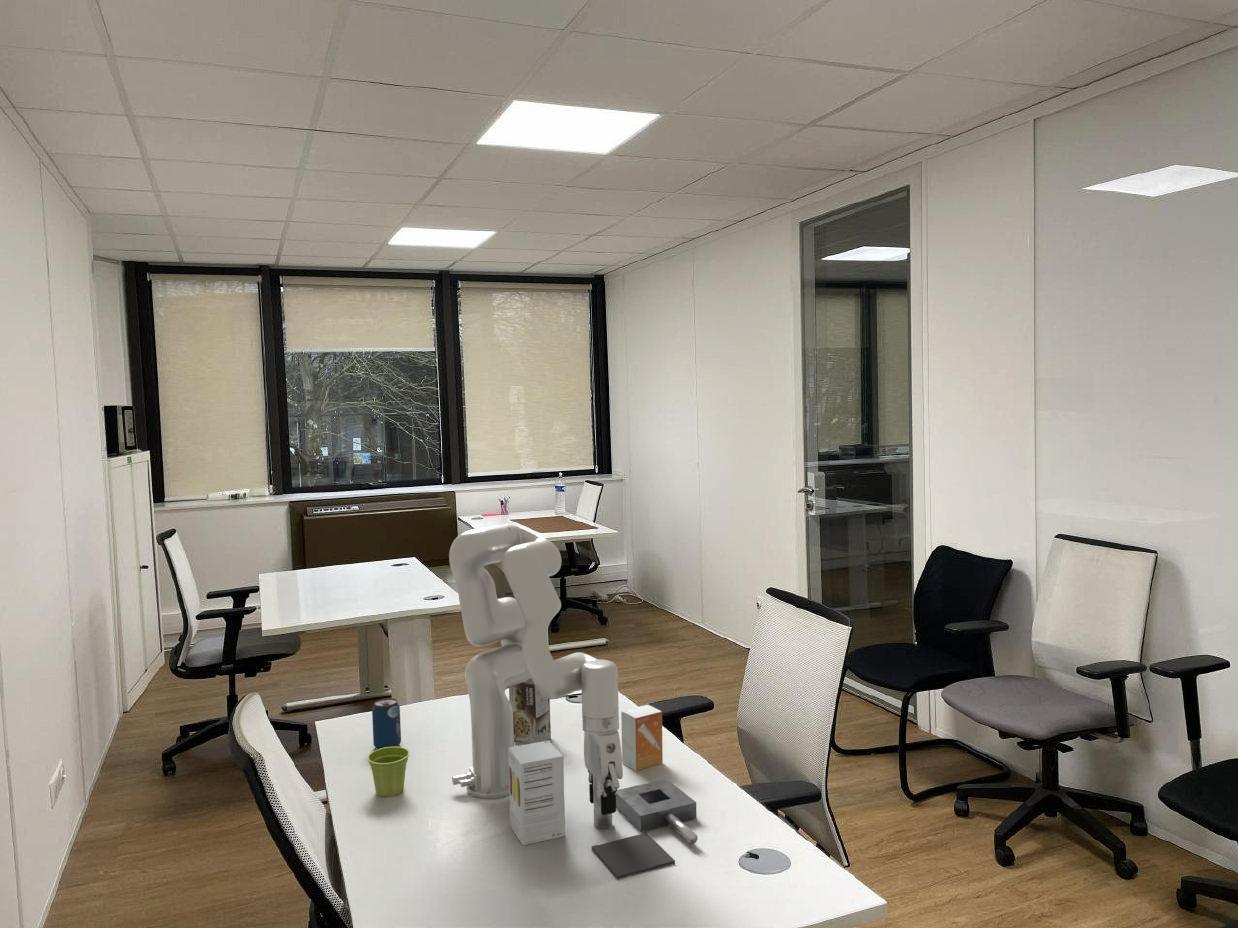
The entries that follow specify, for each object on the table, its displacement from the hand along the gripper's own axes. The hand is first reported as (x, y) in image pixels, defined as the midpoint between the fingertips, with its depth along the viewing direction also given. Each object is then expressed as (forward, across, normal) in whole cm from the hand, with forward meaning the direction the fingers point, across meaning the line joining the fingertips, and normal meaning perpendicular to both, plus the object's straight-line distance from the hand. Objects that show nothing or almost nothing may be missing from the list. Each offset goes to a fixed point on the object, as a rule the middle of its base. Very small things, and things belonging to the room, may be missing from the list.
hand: (602, 806), depth 176 cm
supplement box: (+4, +4, +13) cm, 14 cm away
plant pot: (+4, +37, +37) cm, 52 cm away
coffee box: (+4, +52, -2) cm, 52 cm away
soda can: (+4, +64, +33) cm, 72 cm away
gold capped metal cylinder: (+4, 0, 0) cm, 4 cm away
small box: (+4, +24, -21) cm, 32 cm away
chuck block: (+4, -5, -12) cm, 14 cm away
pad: (+4, -14, 0) cm, 15 cm away
